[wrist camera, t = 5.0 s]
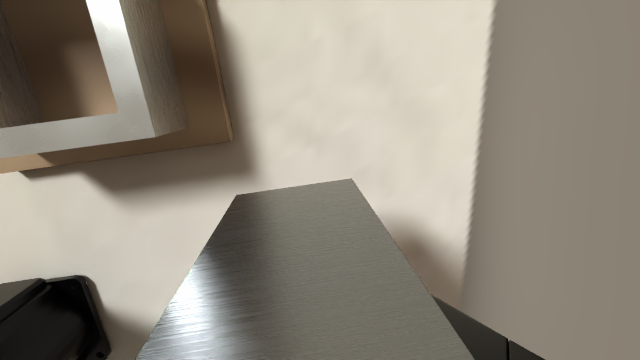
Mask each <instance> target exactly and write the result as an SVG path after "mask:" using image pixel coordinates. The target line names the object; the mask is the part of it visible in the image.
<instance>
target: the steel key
mask: <svg viewBox="0 0 640 360" xmlns="http://www.w3.org/2000/svg"><path fill="white" fill-rule="evenodd" d="M135 360H475V359H474V358H473V356H472V355H471V353H470V352H469V350H468V349H467V348H466V346H465V345H464V343H463V342H462V340H461V339H460V337H459V336H458V334H457V333H456V331H455V330H454V328H453V327H452V325H451V324H450V323H449V321H448V320H447V318H446V317H445V315H444V314H443V312H442V311H441V309H440V308H439V306H438V305H437V303H436V302H435V300H434V299H433V297H432V296H431V295H430V293H429V292H428V290H427V289H426V287H425V286H424V284H423V283H422V281H421V280H420V278H419V277H418V275H417V274H416V272H415V271H414V270H413V268H412V267H411V265H410V264H409V262H408V261H407V259H406V258H405V256H404V255H403V253H402V252H401V250H400V249H399V247H398V246H397V244H396V243H395V242H394V240H393V239H392V237H391V236H390V234H389V233H388V231H387V230H386V228H385V227H384V225H383V224H382V222H381V221H380V219H379V218H378V217H377V215H376V214H375V212H374V211H373V209H372V208H371V206H370V205H369V203H368V202H367V200H366V199H365V197H364V196H363V194H362V193H361V192H360V190H359V189H358V187H357V186H356V184H355V183H354V181H353V180H352V179H345V180H338V181H331V182H324V183H317V184H310V185H303V186H296V187H289V188H282V189H275V190H268V191H261V192H255V193H248V194H241V195H236V197H235V198H234V200H233V202H232V203H231V205H230V206H229V208H228V210H227V211H226V213H225V214H224V216H223V218H222V219H221V221H220V223H219V224H218V226H217V227H216V229H215V231H214V232H213V234H212V236H211V237H210V239H209V240H208V242H207V244H206V245H205V247H204V249H203V250H202V252H201V253H200V255H199V257H198V258H197V260H196V262H195V263H194V265H193V266H192V268H191V270H190V271H189V273H188V274H187V276H186V278H185V279H184V281H183V283H182V284H181V286H180V287H179V289H178V291H177V292H176V294H175V296H174V297H173V299H172V300H171V302H170V304H169V305H168V307H167V309H166V310H165V312H164V313H163V315H162V317H161V318H160V320H159V322H158V323H157V325H156V326H155V328H154V330H153V331H152V333H151V334H150V336H149V338H148V339H147V341H146V343H145V344H144V346H143V347H142V349H141V351H140V352H139V354H138V356H137V357H136V359H135Z"/></svg>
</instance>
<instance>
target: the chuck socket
mask: <svg viewBox="0 0 640 360" xmlns="http://www.w3.org/2000/svg"><path fill="white" fill-rule="evenodd" d="M86 2H87V6H88V9H89V13H90V16H91V19H92V23H93V26H94V30H95V33H96V36H97V40H98V43H99V47H100V50H101V54H102V57H103V60H104V64H105V67H106V71H107V74H108V77H109V81H110V84H111V88H112V91H113V95H114V98H115V101H116V105H117V108H118V112H119V113H112V114H104V115H97V116H89V117H82V118H74V119H67V120H59V121H52V122H44V120H43V117H42V114H41V111H40V108H39V106H38V103H37V100H36V97H35V94H34V92H33V89H32V86H31V83H30V80H29V78H28V75H27V72H26V69H25V66H24V64H23V61H22V58H21V55H20V52H19V50H18V47H17V44H16V41H15V38H14V36H13V33H12V30H11V27H10V24H9V22H8V19H7V16H6V13H5V10H4V8H3V5H2V2H1V0H0V158H7V157H14V156H21V155H29V154H36V153H43V152H51V151H58V150H65V149H72V148H80V147H87V146H94V145H102V144H109V143H116V142H123V141H131V140H138V139H145V138H153V137H158V136H161V135H165V134H168V133H172V132H175V131H179V130H183V129H186V128H190V126H189V122H188V118H187V114H186V110H185V105H184V101H183V97H182V93H181V88H180V84H179V80H178V76H177V72H176V67H175V63H174V59H173V55H172V50H171V46H170V42H169V38H168V34H167V29H166V25H165V21H164V17H163V13H162V8H161V4H160V0H86Z"/></svg>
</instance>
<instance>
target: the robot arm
mask: <svg viewBox="0 0 640 360" xmlns="http://www.w3.org/2000/svg"><path fill="white" fill-rule="evenodd" d="M74 282H75V283H77V285H75V284H74ZM430 295H431V294H430ZM431 296H432V297H433V299H434V300H435V302H436V303H437V305H438V306H439V308H440V309H441V311H442V312H443V314H444V315H445V317H446V318H447V320H448V321H449V323H450V324H451V325H452V327H453V328H454V330H455V331H456V333H457V334H458V336H459V337H460V339H461V340H462V342H463V343H464V345H465V346H466V348H467V349H468V350H469V352H470V353H471V355H472V356H473V358H474V359H475V360H545V359H543V358H541V357H539V356H538V355H536V354H534V353H532V352H530V351H529V350H527V349H525V348H523V347H521V346H520V345H518V344H516V343H515V342H513V341H511V340H510V341H509V342H508V339H507V338H506V337H504V336H502V335H501V334H499V333H497V332H495V331H493V330H492V329H490V328H488V327H487V326H485V325H483V324H481V323H480V322H478V321H476V320H475V319H473V318H471V317H469V316H467V315H466V314H464V313H462V312H461V311H459V310H457V309H455V308H454V307H452V306H450V305H448V304H447V303H445V302H443V301H442V300H440V299H438V298H436V297H435V296H433V295H431ZM101 352H102V353H101ZM110 353H111V348H110V346H109V343H108V340H107V338H106V335H105V332H104V329H103V327H102V324H101V321H100V319H99V316H98V313H97V311H96V308H95V305H94V303H93V300H92V297H91V295H90V292H89V289H88V286H87V284H86V281H85V279H84V278H83V277H81V276H79V275H74V276H67V277H61V278H54V279H47V280H45V279H42V278H36V279H29V280H23V281H16V282H10V283H3V284H0V360H106V359H107V358H108V356H109V355H110Z"/></svg>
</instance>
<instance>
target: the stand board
mask: <svg viewBox="0 0 640 360" xmlns="http://www.w3.org/2000/svg"><path fill="white" fill-rule="evenodd" d="M1 2H2V5H3V8H4V10H5V13H6V16H7V19H8V22H9V24H10V27H11V30H12V33H13V36H14V38H15V41H16V44H17V47H18V50H19V52H20V55H21V58H22V61H23V64H24V66H25V69H26V72H27V75H28V78H29V80H30V83H31V86H32V89H33V92H34V94H35V97H36V100H37V103H38V106H39V108H40V111H41V114H42V117H43V120H44V122H52V121H59V120H67V119H74V118H82V117H89V116H97V115H104V114H112V113H119V112H118V108H117V105H116V101H115V98H114V95H113V91H112V88H111V84H110V81H109V77H108V74H107V71H106V67H105V64H104V60H103V57H102V54H101V50H100V47H99V43H98V40H97V36H96V33H95V30H94V26H93V23H92V19H91V16H90V13H89V9H88V6H87V2H86V0H1ZM160 4H161V8H162V13H163V17H164V21H165V25H166V29H167V34H168V38H169V42H170V46H171V50H172V55H173V59H174V63H175V67H176V72H177V76H178V80H179V84H180V88H181V93H182V97H183V101H184V105H185V110H186V114H187V118H188V122H189V126H190V128H186V129H183V130H179V131H175V132H172V133H168V134H165V135H161V136H158V137H153V138H145V139H138V140H131V141H123V142H116V143H109V144H102V145H94V146H87V147H80V148H72V149H65V150H58V151H51V152H43V153H36V154H29V155H21V156H14V157H7V158H0V173H8V172H15V171H22V170H29V169H36V168H44V167H51V166H58V165H65V164H72V163H80V162H87V161H94V160H101V159H108V158H116V157H123V156H130V155H137V154H144V153H152V152H159V151H166V150H173V149H180V148H188V147H195V146H202V145H209V144H216V143H224V142H231V141H232V140H234V137H233V132H232V127H231V122H230V117H229V112H228V107H227V102H226V97H225V92H224V87H223V82H222V77H221V73H220V68H219V63H218V58H217V53H216V48H215V43H214V38H213V33H212V28H211V23H210V18H209V13H208V8H207V3H206V0H160Z"/></svg>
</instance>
